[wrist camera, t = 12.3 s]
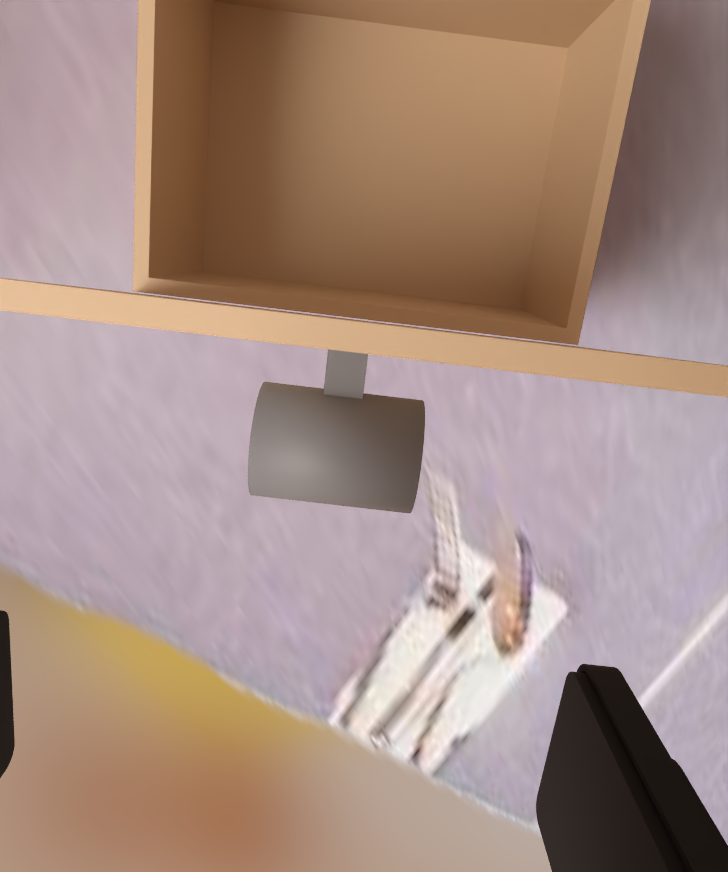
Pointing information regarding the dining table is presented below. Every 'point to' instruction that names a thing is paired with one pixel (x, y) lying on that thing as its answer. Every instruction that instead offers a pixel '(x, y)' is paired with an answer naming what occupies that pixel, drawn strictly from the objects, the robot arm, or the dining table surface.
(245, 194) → the carton
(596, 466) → the dining table surface
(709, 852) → the robot arm
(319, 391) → the carton lid
